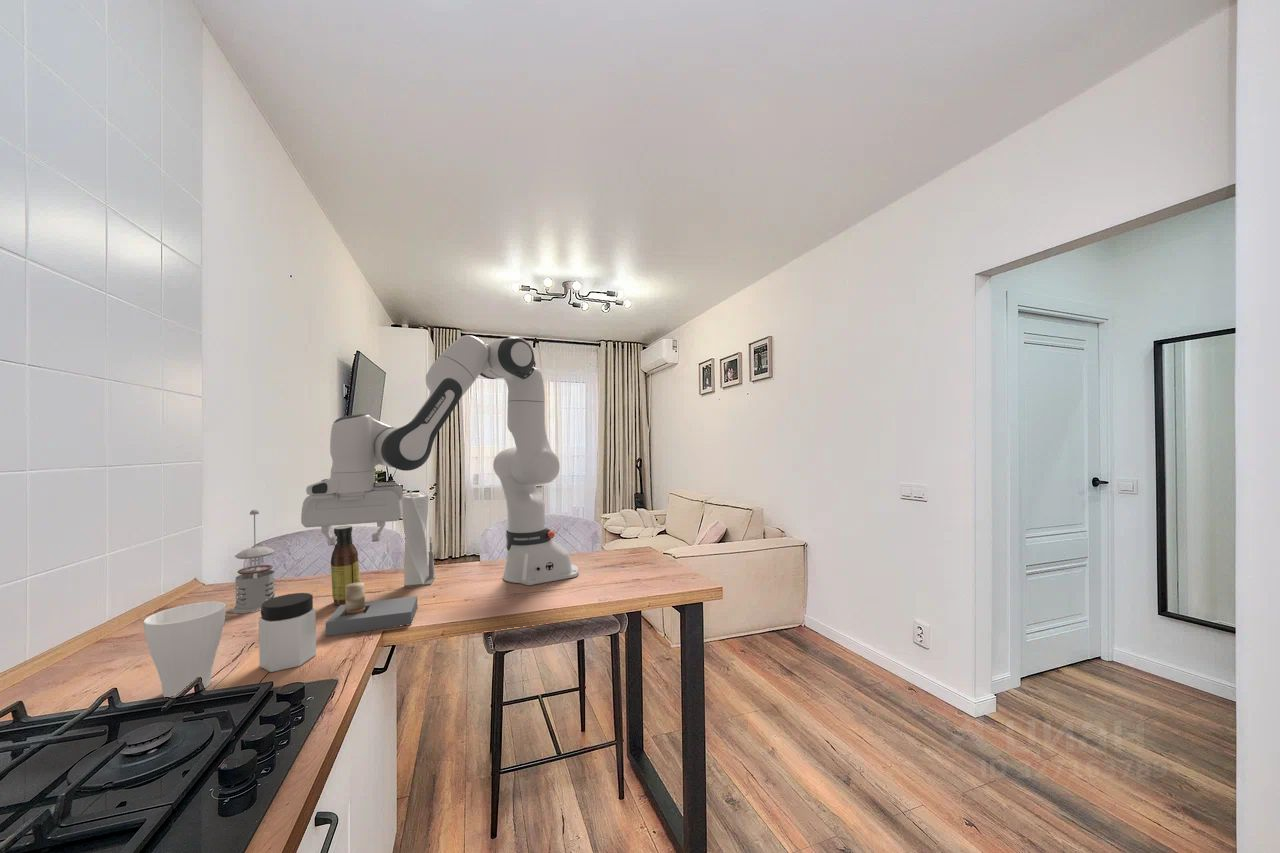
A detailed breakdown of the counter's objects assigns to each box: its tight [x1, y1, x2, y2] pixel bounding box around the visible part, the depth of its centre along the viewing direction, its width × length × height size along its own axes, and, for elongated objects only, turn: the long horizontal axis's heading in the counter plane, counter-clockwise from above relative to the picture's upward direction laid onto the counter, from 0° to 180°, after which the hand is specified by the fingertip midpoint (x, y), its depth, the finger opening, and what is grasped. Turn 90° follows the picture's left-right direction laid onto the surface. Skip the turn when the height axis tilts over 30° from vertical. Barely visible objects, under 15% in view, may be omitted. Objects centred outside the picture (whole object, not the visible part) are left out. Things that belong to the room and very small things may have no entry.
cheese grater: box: [401, 488, 436, 588], centre depth 140 cm, size 8×8×28 cm
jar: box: [258, 592, 317, 673], centre depth 93 cm, size 9×8×12 cm
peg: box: [345, 581, 366, 615], centre depth 111 cm, size 4×4×9 cm
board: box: [325, 595, 418, 637], centre depth 112 cm, size 17×11×3 cm, turn 108°
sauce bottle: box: [330, 524, 361, 606], centre depth 125 cm, size 6×6×20 cm
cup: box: [142, 601, 227, 698], centre depth 83 cm, size 10×10×14 cm
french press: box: [230, 509, 276, 614], centre depth 124 cm, size 10×12×25 cm
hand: (354, 543), depth 111 cm, fingers open, 8 cm apart
